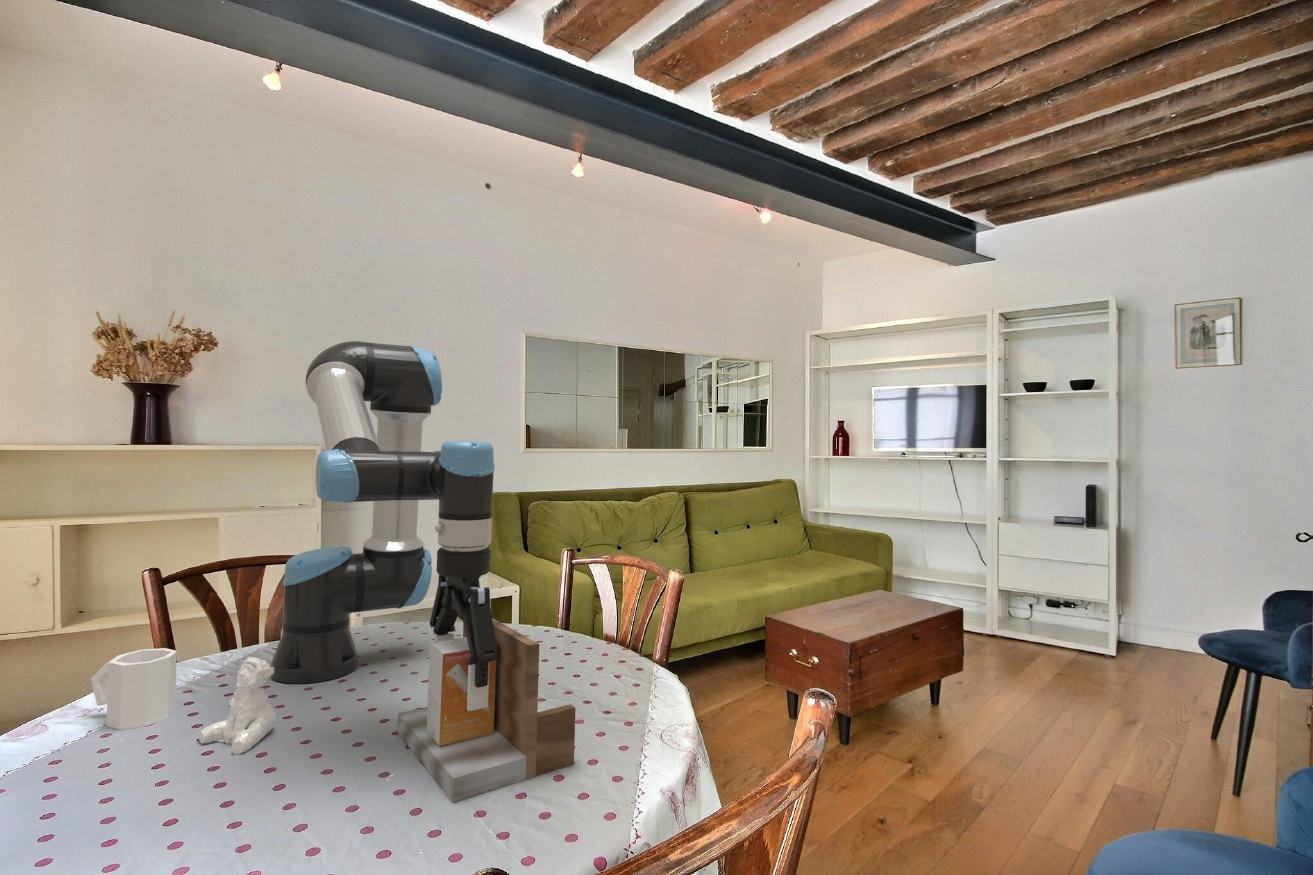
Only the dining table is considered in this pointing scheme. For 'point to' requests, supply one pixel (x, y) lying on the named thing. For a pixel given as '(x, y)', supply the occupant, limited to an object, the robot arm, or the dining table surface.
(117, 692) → the mug
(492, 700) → the small box
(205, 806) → the dining table surface
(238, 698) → the sitting furry creature
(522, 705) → the wall board
